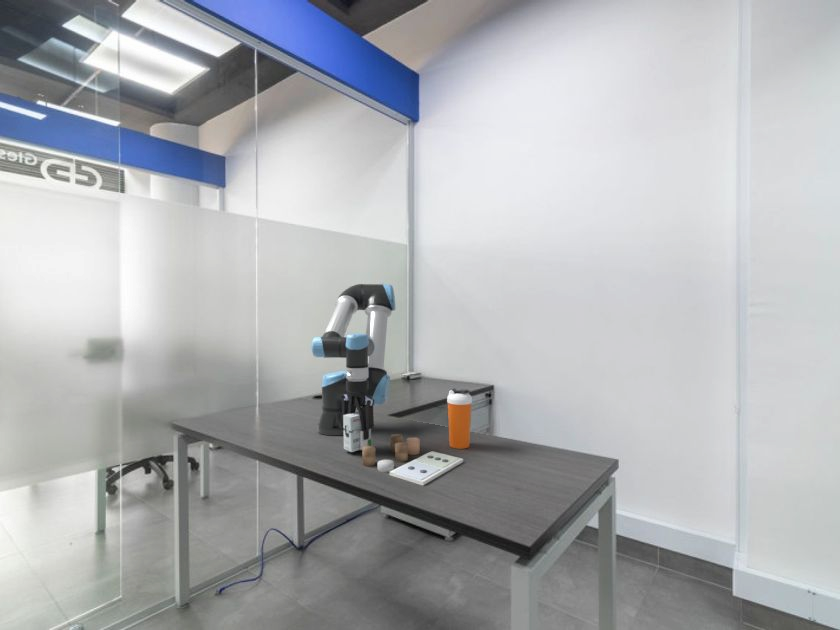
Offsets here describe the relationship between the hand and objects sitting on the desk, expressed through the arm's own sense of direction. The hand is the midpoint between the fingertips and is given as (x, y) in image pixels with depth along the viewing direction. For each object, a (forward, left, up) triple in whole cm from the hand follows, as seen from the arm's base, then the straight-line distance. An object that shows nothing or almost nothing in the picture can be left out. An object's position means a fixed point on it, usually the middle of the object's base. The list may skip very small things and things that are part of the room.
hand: (357, 446), depth 142 cm
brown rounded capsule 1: (+10, +9, -2) cm, 13 cm away
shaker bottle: (+25, +26, -2) cm, 36 cm away
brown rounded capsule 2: (+17, +3, -2) cm, 18 cm away
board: (+28, +2, -1) cm, 28 cm away
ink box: (0, 0, -1) cm, 1 cm away
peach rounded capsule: (+16, +10, -2) cm, 19 cm away
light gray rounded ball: (+18, -6, -2) cm, 19 cm away
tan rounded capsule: (+11, -6, -2) cm, 13 cm away
